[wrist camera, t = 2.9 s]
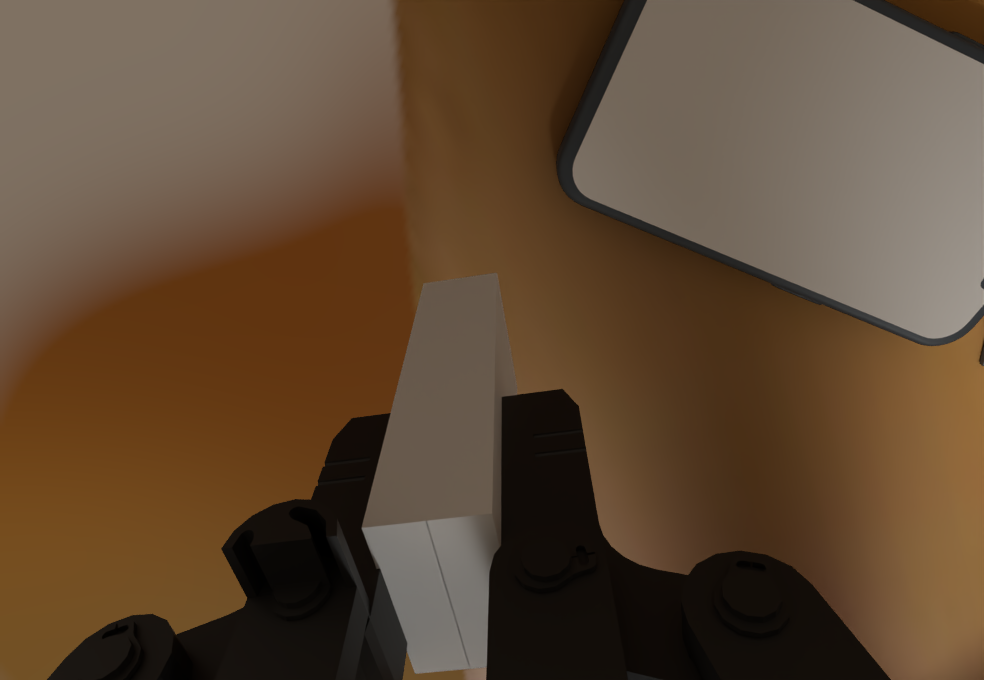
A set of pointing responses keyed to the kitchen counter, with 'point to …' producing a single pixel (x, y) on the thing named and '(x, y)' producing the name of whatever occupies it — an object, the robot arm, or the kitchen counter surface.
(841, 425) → the kitchen counter surface
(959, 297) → the phone case
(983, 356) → the charging mat
